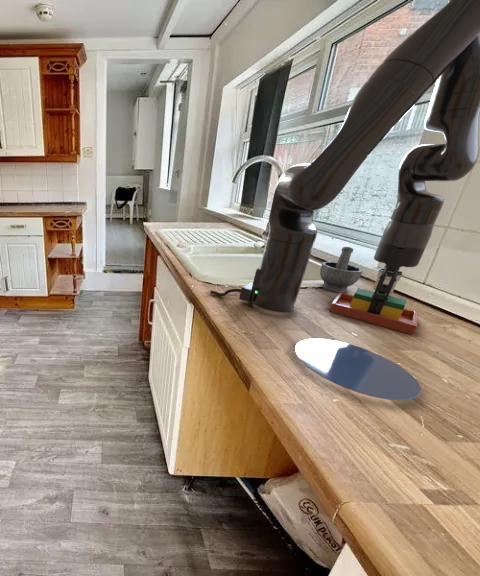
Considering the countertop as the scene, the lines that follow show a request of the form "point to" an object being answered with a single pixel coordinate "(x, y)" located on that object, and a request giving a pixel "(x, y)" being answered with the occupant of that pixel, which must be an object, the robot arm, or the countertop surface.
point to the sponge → (390, 307)
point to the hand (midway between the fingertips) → (374, 310)
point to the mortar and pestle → (340, 272)
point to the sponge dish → (404, 323)
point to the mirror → (357, 369)
